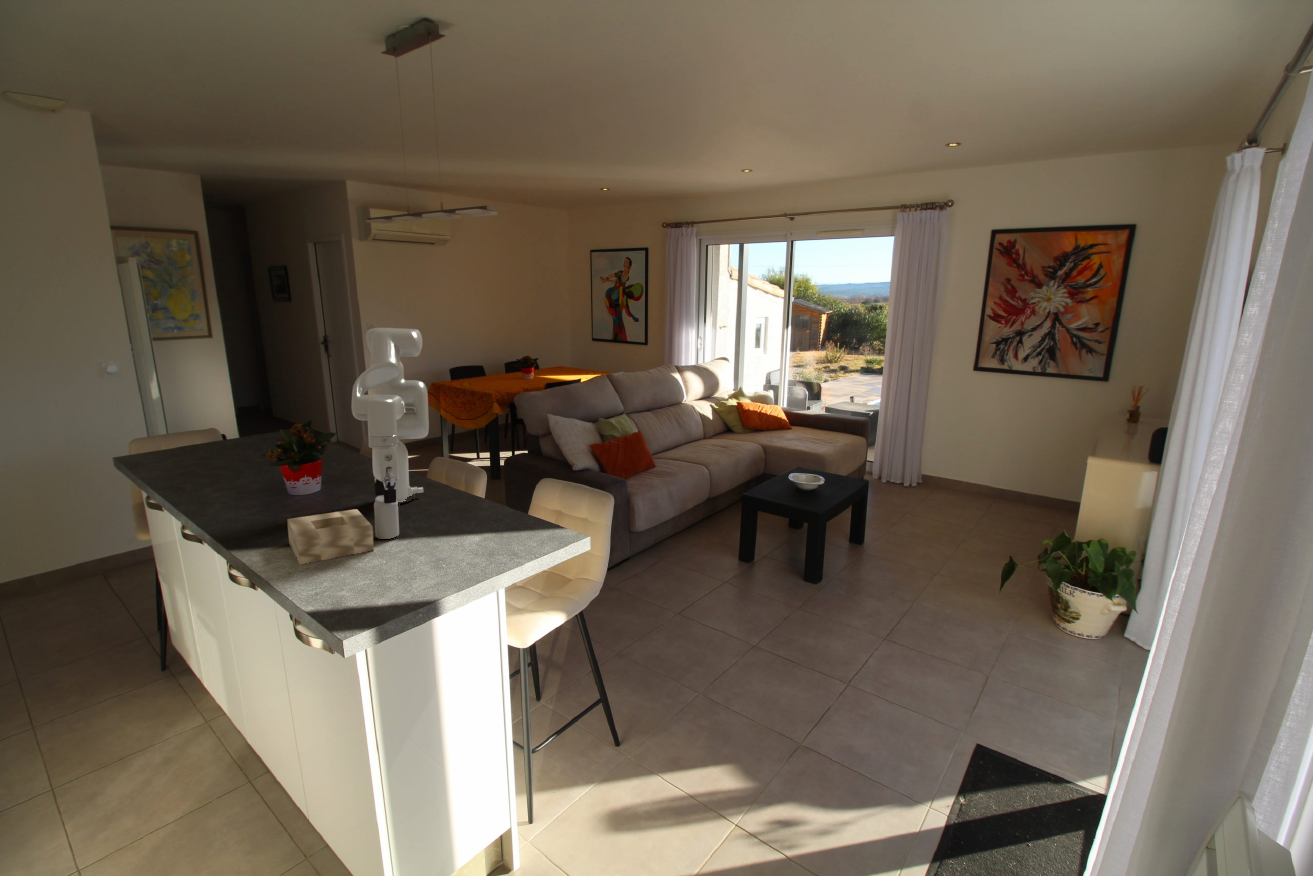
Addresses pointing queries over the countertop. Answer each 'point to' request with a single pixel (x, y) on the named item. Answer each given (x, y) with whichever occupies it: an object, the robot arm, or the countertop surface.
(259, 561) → the countertop surface
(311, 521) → the holder block
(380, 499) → the beverage can
